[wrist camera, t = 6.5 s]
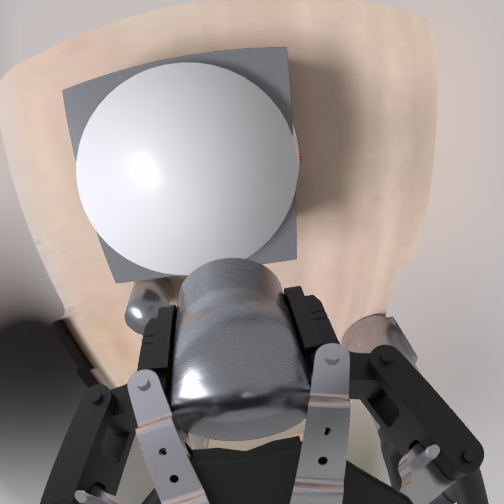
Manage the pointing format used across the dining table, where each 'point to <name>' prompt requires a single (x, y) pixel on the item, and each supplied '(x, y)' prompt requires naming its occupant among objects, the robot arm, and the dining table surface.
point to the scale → (188, 161)
